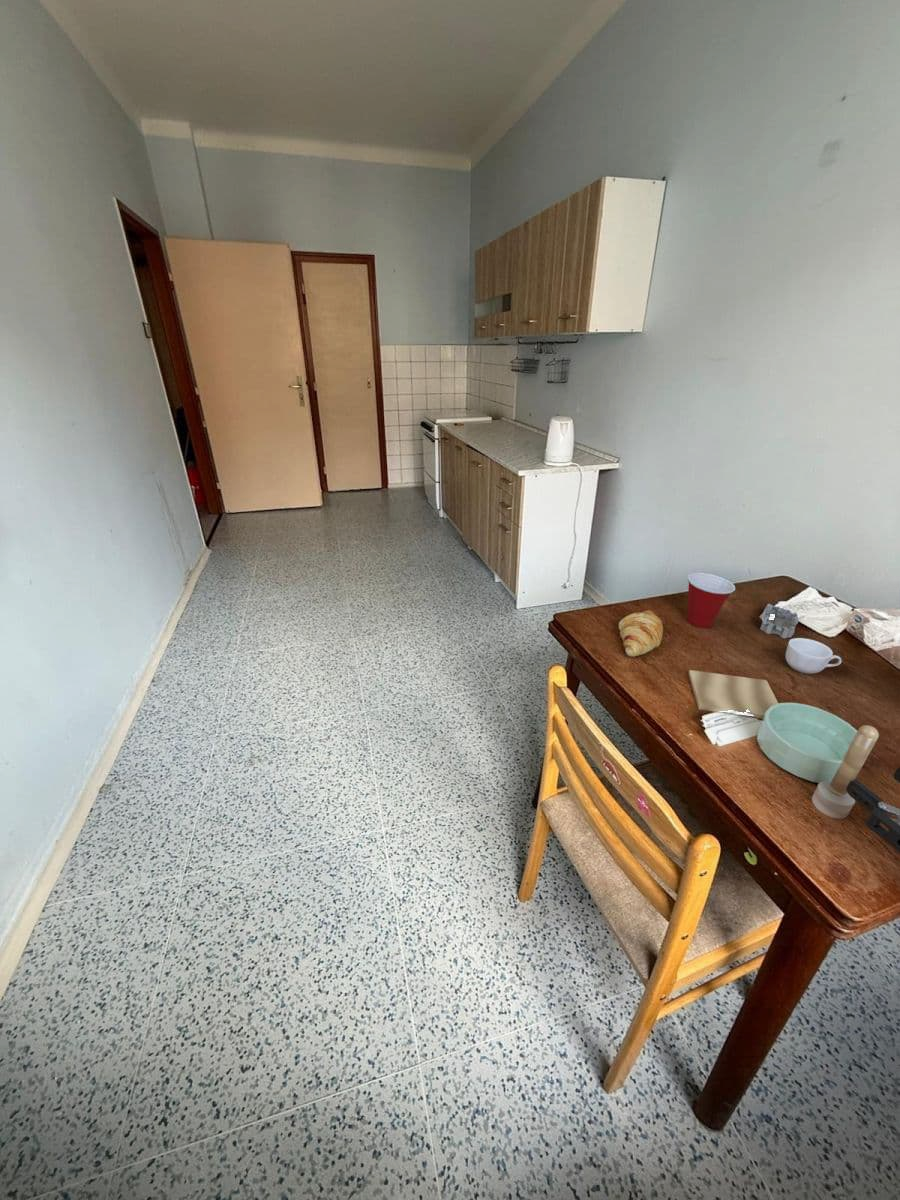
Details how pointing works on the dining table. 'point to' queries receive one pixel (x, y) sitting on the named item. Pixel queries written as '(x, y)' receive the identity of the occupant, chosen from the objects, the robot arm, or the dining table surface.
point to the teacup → (809, 655)
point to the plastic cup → (706, 598)
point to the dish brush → (845, 776)
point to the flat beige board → (731, 693)
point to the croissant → (641, 632)
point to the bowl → (805, 740)
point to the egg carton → (779, 621)
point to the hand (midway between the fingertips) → (873, 777)
